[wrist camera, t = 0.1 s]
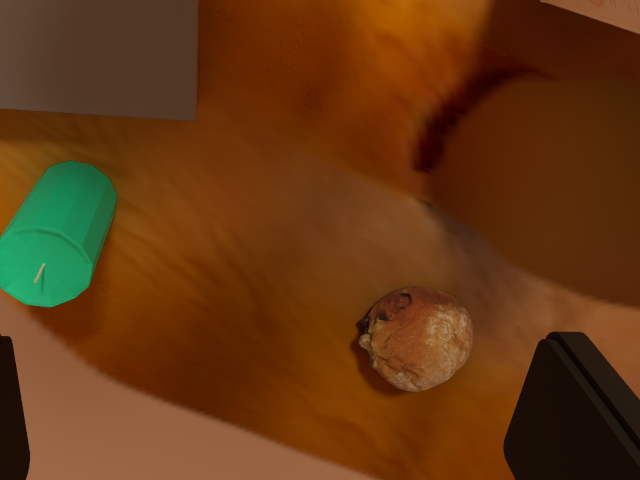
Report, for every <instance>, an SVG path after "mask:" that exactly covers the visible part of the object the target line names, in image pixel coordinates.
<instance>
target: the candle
mask: <svg viewBox="0 0 640 480" xmlns="http://www.w3.org/2000/svg"><path fill="white" fill-rule="evenodd" d="M116 202H117V194H116V192H115V189H114V187H113V185H112V183H111V181H110V178H108V177H107V176H106V175H105V174H103V173H102V172H101V171H99V170H98V169H97V168H95V167H94V166H93V165H89V164H85V163H80V162H75V161H67V162H64V163H60V164H56V165H53V166H50V167H49V168H48V170H47V171H46V172H45V173H44V174H43V175H42V176H41V177H40V178H39V179H38V181H37V182H36V184H35V185H34V187H33V188H32V190H31V191H30V193H29V194H28V196H27V197H26V199H25V200H24V202H23V203H22V205H21V207H20V208H19V210H18V211H17V213H16V214H15V216H14V217H13V219H12V220H11V222H10V223H9V225H8V226H7V228H6V229H5V231H4V232H3V234H2V235H1V237H0V287H1V288H2V289H3V291H5V292H7V293H8V294H10V295H11V296H13V297H14V298H16V299H17V300H19V301H20V302H22V303H24V304H26V305H34V306H42V307H53V306H56V305H59V304H61V303H64V302H67V301H69V300H72V299H74V298H76V297H77V296H78V295H79V294H81V293H82V292H83V291H84V290H85V289H86V288H88V287H89V285H90V282H91V279H92V276H93V273H94V271H95V268H96V265H97V262H98V259H99V256H100V253H101V251H102V248H103V245H104V242H105V239H106V236H107V234H108V231H109V228H110V225H111V222H112V219H113V216H114V214H115V208H116Z"/></svg>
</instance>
